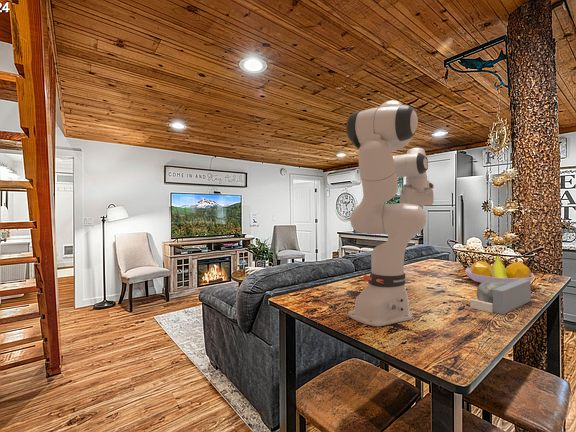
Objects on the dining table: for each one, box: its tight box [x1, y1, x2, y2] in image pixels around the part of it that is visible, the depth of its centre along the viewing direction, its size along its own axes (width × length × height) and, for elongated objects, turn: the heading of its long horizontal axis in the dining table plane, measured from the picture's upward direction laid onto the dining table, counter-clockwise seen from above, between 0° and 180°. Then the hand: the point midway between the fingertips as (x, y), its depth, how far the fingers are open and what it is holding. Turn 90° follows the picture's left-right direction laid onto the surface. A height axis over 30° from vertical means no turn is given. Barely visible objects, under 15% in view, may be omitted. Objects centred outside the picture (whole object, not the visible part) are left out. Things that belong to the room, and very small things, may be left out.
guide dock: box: [469, 279, 532, 315], centre depth 109 cm, size 26×10×8 cm, turn 123°
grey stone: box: [476, 280, 506, 304], centre depth 111 cm, size 14×10×10 cm
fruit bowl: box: [464, 255, 536, 284], centre depth 137 cm, size 28×27×11 cm
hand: (417, 215), depth 131 cm, fingers closed
